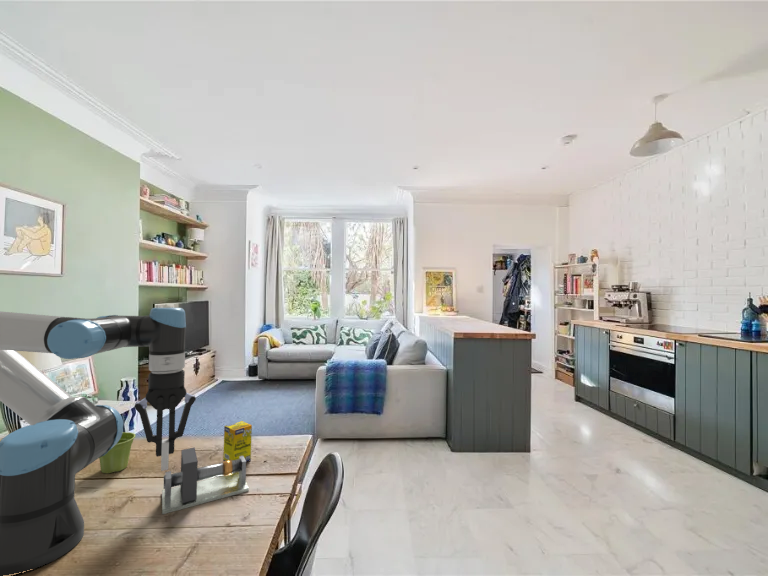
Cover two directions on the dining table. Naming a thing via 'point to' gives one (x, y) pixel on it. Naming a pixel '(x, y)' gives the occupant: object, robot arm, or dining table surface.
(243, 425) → the supplement box
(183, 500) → the grey slider block
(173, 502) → the pipe jig
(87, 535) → the dining table surface
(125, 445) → the plant pot
